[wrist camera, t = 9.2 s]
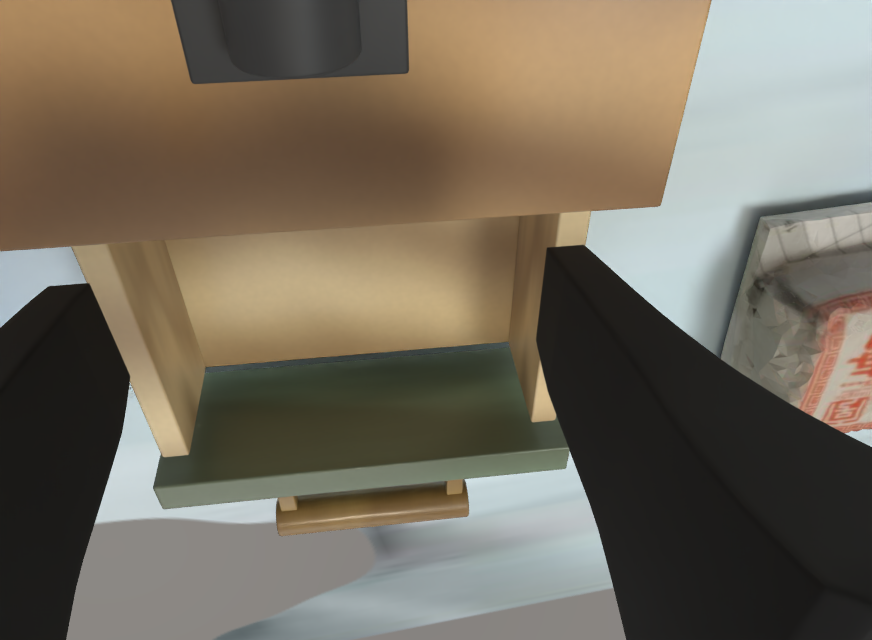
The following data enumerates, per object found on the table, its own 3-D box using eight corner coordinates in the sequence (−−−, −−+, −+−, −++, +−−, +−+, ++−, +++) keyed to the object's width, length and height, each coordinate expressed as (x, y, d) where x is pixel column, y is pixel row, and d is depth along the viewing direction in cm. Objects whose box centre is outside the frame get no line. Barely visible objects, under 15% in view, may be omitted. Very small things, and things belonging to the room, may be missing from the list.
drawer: (525, 430, 29) (553, 533, 25) (209, 460, 28) (191, 572, 24) (575, 40, 18) (637, 120, 15) (65, 64, 17) (-6, 157, 14)
